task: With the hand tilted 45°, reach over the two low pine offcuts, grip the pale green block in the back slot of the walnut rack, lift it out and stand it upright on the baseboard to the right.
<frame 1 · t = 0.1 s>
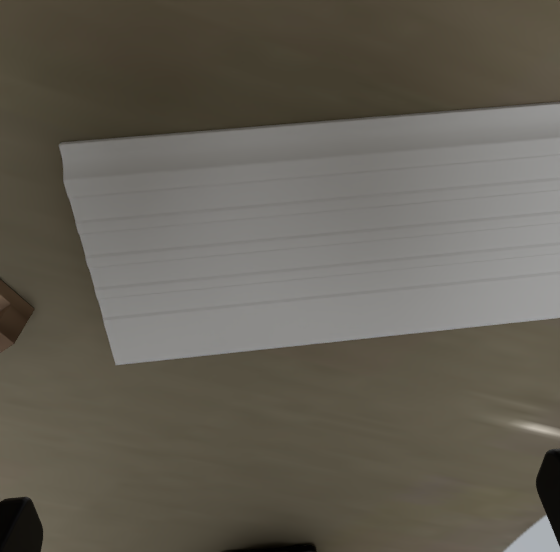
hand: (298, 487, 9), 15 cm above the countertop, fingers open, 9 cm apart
baseboard: (429, 206, 23), on the countertop
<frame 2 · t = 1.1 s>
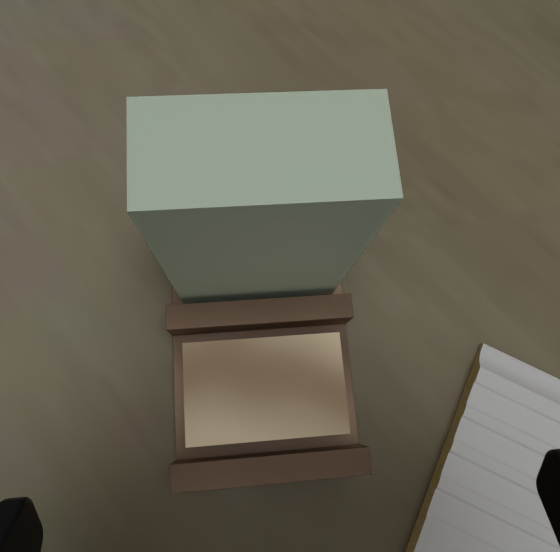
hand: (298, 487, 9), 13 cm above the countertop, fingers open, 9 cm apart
rack: (255, 273, 24), on the countertop
offcut top: (264, 388, 21), point 2 cm above the countertop, touching offcut low
pale green block: (256, 268, 23), point 1 cm above the countertop, touching rack
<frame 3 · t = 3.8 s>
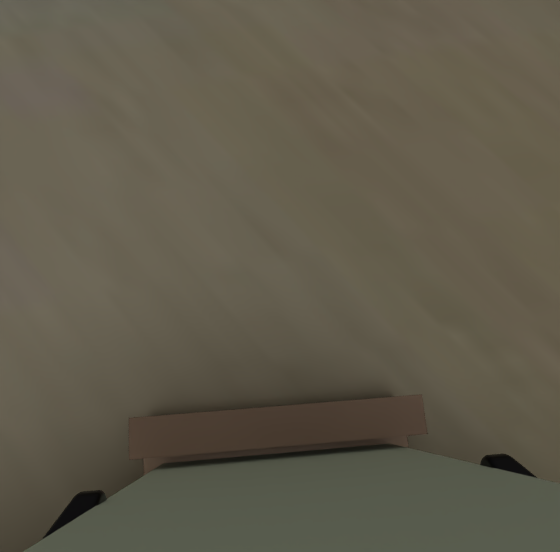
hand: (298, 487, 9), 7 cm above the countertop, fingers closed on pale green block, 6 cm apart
rack: (280, 504, 15), on the countertop
pale green block: (282, 509, 14), point 1 cm above the countertop, touching gripper, rack
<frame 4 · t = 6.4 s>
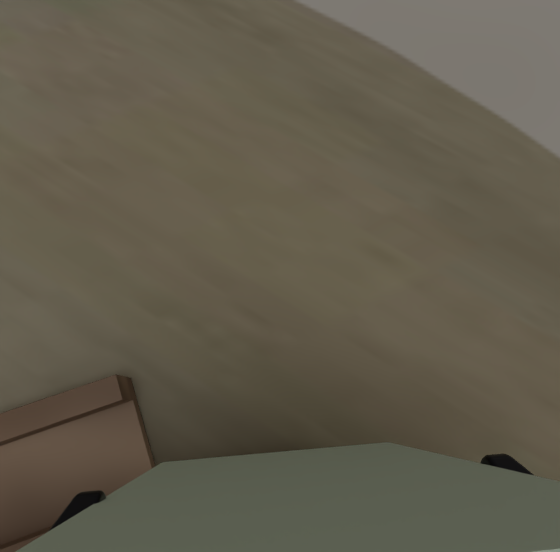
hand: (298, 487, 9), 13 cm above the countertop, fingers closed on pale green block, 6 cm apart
rack: (59, 473, 21), on the countertop
pale green block: (281, 508, 14), point 8 cm above the countertop, touching gripper
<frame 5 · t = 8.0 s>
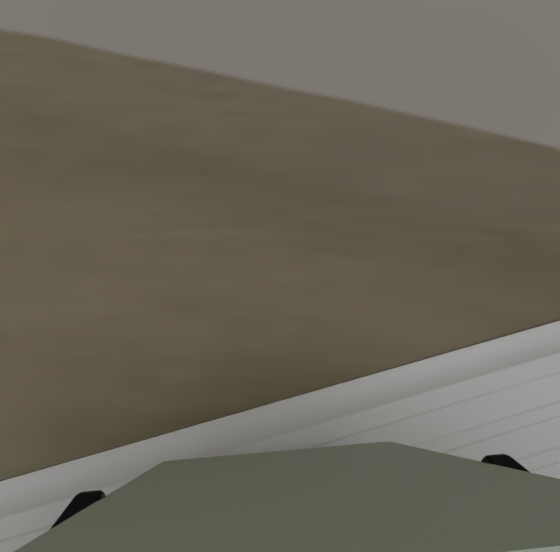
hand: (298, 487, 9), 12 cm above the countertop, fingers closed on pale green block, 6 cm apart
baseboard: (369, 493, 20), on the countertop
pale green block: (282, 507, 14), point 6 cm above the countertop, touching gripper
when the fingers open (9 cm above the countertop, at t = 9.1 s): pale green block drops 2 cm, resting on baseboard.
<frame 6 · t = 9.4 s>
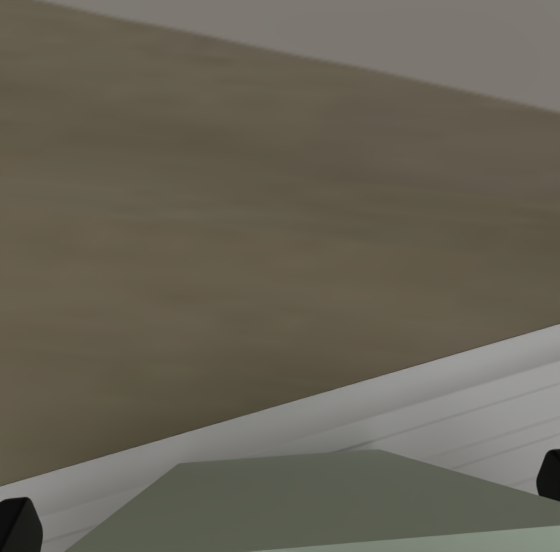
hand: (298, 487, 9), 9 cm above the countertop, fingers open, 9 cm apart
baseboard: (385, 509, 18), on the countertop, touching pale green block
pale green block: (283, 506, 16), point 1 cm above the countertop, touching baseboard
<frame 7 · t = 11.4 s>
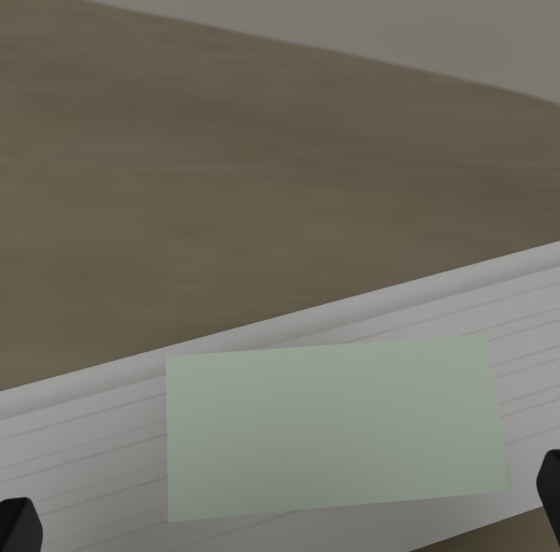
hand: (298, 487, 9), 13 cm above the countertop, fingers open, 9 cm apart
baseboard: (353, 401, 23), on the countertop, touching pale green block
pale green block: (292, 413, 20), point 1 cm above the countertop, touching baseboard
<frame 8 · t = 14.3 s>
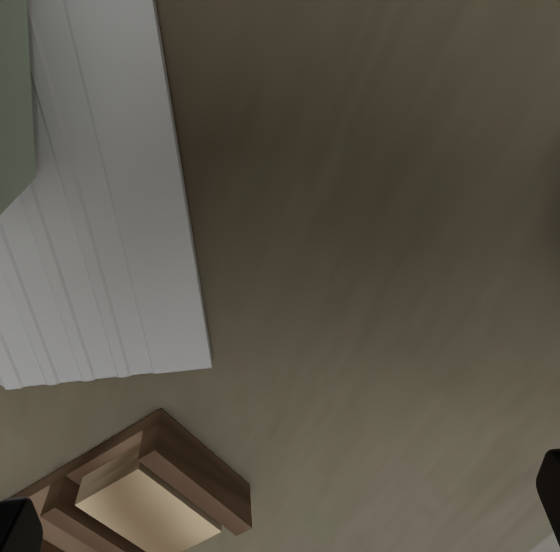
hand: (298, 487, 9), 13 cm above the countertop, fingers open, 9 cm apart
rack: (82, 519, 28), on the countertop
offcut top: (152, 504, 26), point 2 cm above the countertop, touching offcut low
offcut low: (154, 491, 27), point 1 cm above the countertop, touching offcut top, rack
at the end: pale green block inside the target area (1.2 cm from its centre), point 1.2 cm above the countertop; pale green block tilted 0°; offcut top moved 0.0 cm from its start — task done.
